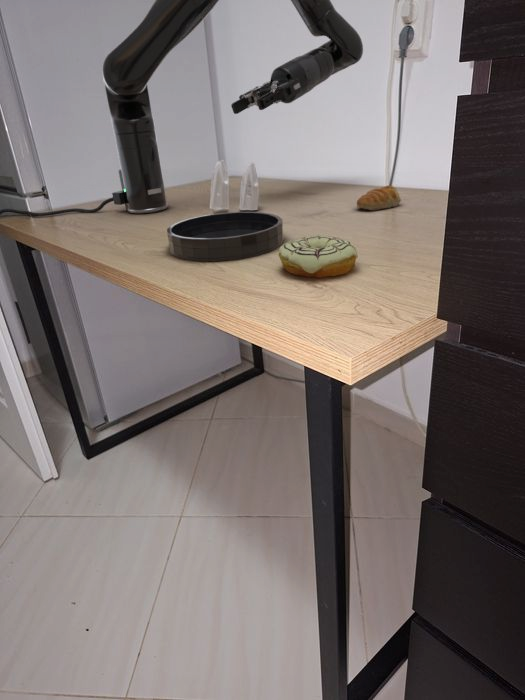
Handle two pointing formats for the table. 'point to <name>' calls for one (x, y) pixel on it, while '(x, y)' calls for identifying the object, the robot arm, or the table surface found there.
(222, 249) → the pan
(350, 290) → the table surface
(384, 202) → the pastry
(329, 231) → the table surface
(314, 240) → the decorated donut
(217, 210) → the shaker set
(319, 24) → the robot arm
